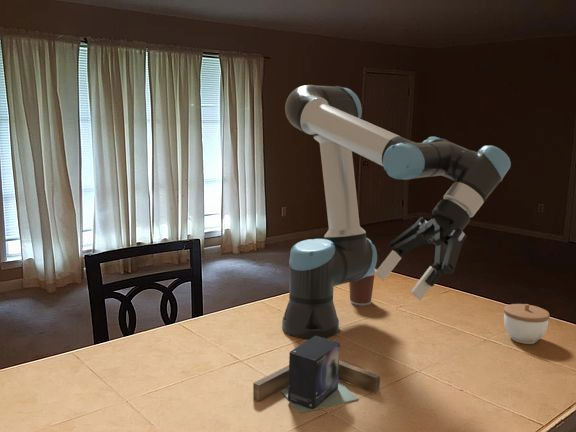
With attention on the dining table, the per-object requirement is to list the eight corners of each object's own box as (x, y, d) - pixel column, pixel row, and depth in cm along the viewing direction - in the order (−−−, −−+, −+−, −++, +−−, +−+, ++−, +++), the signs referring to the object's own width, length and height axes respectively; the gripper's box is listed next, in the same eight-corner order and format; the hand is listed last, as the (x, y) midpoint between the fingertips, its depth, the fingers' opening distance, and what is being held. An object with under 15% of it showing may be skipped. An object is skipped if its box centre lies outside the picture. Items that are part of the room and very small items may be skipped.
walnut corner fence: (253, 399, 111) (253, 382, 110) (315, 366, 126) (315, 351, 125) (320, 431, 100) (320, 413, 100) (379, 391, 115) (380, 375, 114)
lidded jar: (509, 328, 150) (512, 295, 149) (551, 338, 144) (555, 304, 142) (495, 339, 142) (498, 305, 141) (539, 351, 136) (543, 315, 134)
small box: (315, 411, 106) (316, 360, 104) (286, 401, 110) (287, 351, 108) (340, 388, 115) (341, 341, 113) (312, 380, 119) (313, 334, 117)
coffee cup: (362, 309, 163) (364, 270, 161) (339, 301, 170) (340, 263, 168) (381, 302, 169) (383, 264, 167) (358, 295, 176) (360, 258, 174)
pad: (281, 391, 114) (281, 390, 114) (336, 380, 119) (336, 379, 119) (299, 413, 106) (299, 411, 106) (358, 400, 111) (358, 398, 111)
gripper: (508, 230, 109) (444, 315, 106) (430, 209, 132) (376, 279, 129) (488, 207, 106) (421, 294, 103) (412, 189, 129) (355, 260, 126)
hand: (396, 286), depth 116 cm, fingers open, 13 cm apart
